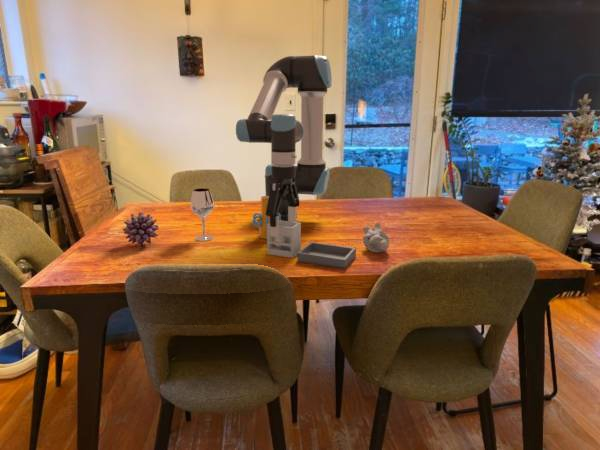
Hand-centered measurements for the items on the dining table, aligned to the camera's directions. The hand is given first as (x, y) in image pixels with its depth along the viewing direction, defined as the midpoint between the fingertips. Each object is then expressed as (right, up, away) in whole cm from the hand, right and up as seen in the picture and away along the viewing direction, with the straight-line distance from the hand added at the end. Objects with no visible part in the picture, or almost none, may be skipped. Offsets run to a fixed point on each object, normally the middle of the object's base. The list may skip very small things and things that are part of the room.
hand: (283, 230), depth 140 cm
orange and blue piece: (-7, -3, +19) cm, 20 cm away
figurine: (+30, -7, +5) cm, 32 cm away
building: (0, -7, +3) cm, 8 cm away
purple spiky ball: (-49, -5, +9) cm, 50 cm away
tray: (+14, -9, -3) cm, 17 cm away
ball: (-1, -3, +2) cm, 4 cm away
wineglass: (-29, -3, +17) cm, 34 cm away
